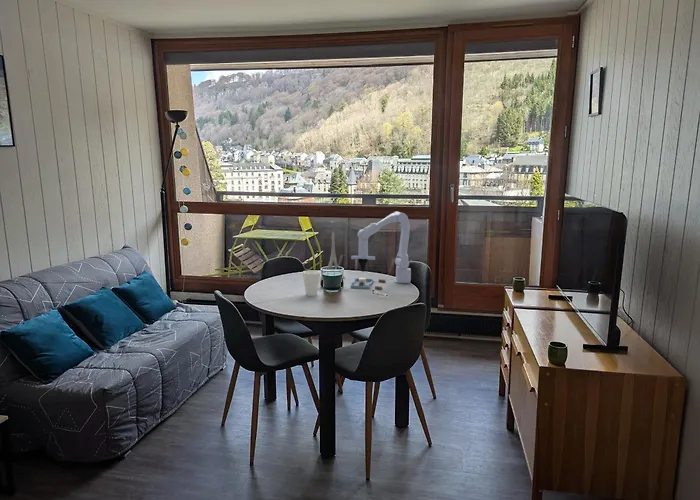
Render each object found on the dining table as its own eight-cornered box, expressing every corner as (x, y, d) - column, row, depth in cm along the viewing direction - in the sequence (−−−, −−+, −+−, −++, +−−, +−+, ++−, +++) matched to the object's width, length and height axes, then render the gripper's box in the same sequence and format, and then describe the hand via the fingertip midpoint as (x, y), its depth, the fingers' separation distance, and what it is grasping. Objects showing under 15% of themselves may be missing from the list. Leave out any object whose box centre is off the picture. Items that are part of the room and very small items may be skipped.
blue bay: (373, 281, 315) (373, 277, 314) (369, 288, 296) (369, 285, 296) (356, 280, 317) (356, 277, 316) (350, 287, 298) (350, 284, 298)
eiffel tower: (321, 275, 332) (321, 230, 327) (341, 274, 334) (341, 230, 329) (324, 279, 319) (324, 233, 314) (345, 278, 321) (345, 232, 316)
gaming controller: (344, 286, 302) (344, 270, 300) (343, 288, 296) (343, 272, 294) (321, 285, 303) (321, 269, 302) (319, 288, 297) (319, 271, 296)
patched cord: (366, 282, 312) (366, 276, 311) (364, 287, 300) (364, 280, 299) (360, 282, 312) (360, 276, 312) (357, 287, 301) (357, 280, 300)
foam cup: (317, 297, 278) (317, 274, 276) (301, 296, 280) (300, 273, 278) (321, 292, 287) (321, 270, 285) (306, 291, 289) (305, 269, 287)
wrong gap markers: (385, 281, 314) (385, 279, 313) (381, 289, 294) (381, 287, 294) (379, 281, 314) (379, 279, 314) (374, 289, 295) (374, 286, 295)
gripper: (350, 250, 300) (350, 272, 303) (374, 250, 298) (373, 272, 300) (352, 248, 307) (352, 269, 309) (375, 248, 304) (375, 270, 307)
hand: (363, 271), depth 305 cm, fingers closed
